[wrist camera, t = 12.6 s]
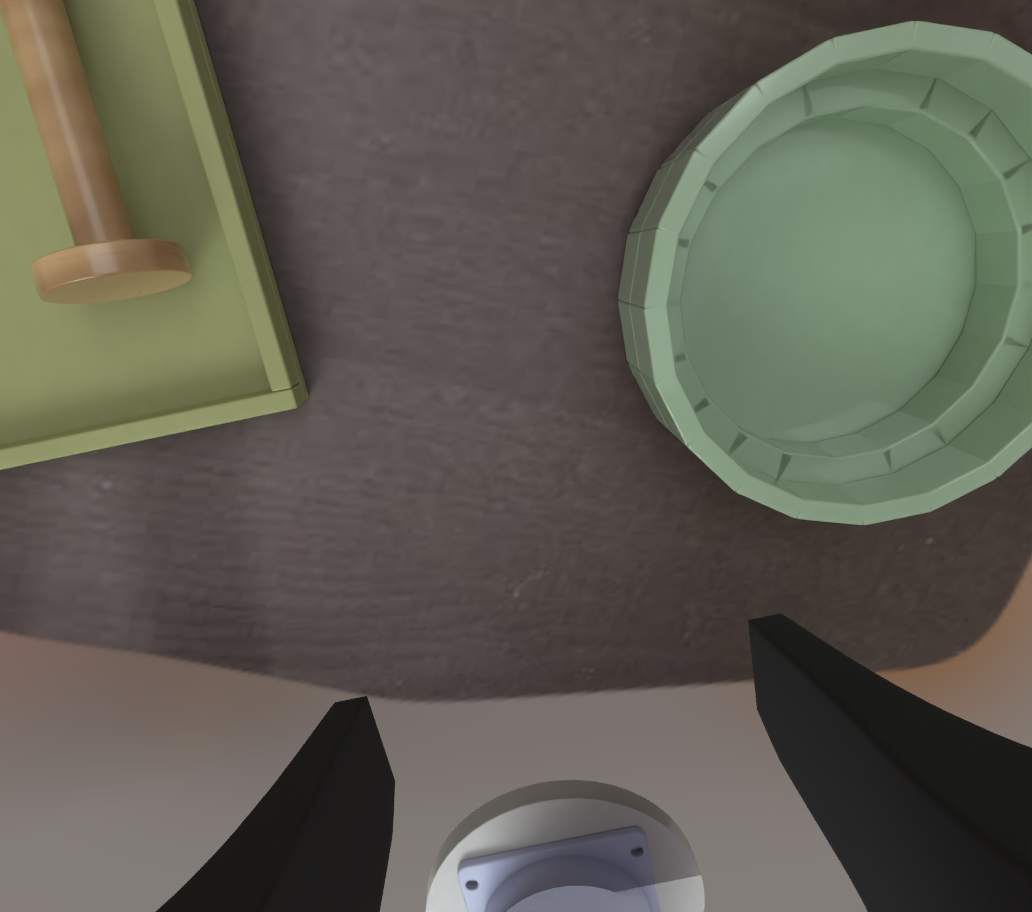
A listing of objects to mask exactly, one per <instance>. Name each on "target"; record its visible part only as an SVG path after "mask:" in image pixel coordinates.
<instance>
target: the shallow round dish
mask: <svg viewBox="0 0 1032 912" xmlns="http://www.w3.org/2000/svg"><path fill="white" fill-rule="evenodd" d="M629 232H630V233H629V234H628V235H627V242H626V249H625V255H624V262H623V268H622V275H621V282H620V288H619V295H618V299H619V302H618V305H619V312H620V318H621V324H622V331H623V337H624V344H625V350H626V356H627V361H628V363H629V367H630V369H631V371H632V373H633V375H634V377H635V379H636V381H637V383H638V385H639V386H640V388H641V390H642V392H643V394H644V396H645V398H646V400H647V402H648V404H649V406H650V408H651V410H652V412H653V414H654V415H655V416H656V418H657V419H658V420H659V421H660V422H661V423H662V424H663V425H664V426H665V427H666V428H667V429H668V430H669V431H670V432H672V433H673V434H674V435H675V436H676V437H677V438H678V439H679V440H680V441H681V442H682V443H683V444H684V445H685V446H686V447H687V448H688V449H690V450H691V451H692V452H693V453H694V454H695V455H696V456H697V457H698V458H699V459H700V460H701V461H702V462H703V463H704V464H705V465H707V466H708V467H709V468H710V469H711V470H712V471H713V472H714V473H715V474H716V475H717V476H718V477H719V478H720V479H721V480H723V481H724V482H725V483H726V484H727V485H728V486H729V487H730V488H731V489H732V490H733V491H736V492H737V493H738V494H740V495H743V496H745V497H747V498H750V499H752V500H754V501H756V502H759V503H761V504H763V505H765V506H768V507H770V508H772V509H774V510H777V511H779V512H781V513H783V514H786V515H788V516H790V517H792V518H797V519H803V520H813V521H824V522H834V523H845V524H855V525H862V524H863V525H868V524H873V523H878V522H883V521H888V520H893V519H898V518H903V517H907V516H912V515H917V514H922V513H927V512H931V511H932V510H935V509H937V508H939V507H941V506H943V505H945V504H947V503H949V502H951V501H953V500H955V499H957V498H959V497H961V496H963V495H965V494H967V493H969V492H971V491H973V490H975V489H977V488H979V487H981V486H982V485H984V484H986V483H988V482H990V481H992V480H994V479H996V476H997V477H998V476H1000V475H1001V474H1002V473H1004V472H1005V471H1006V470H1007V469H1008V468H1009V467H1010V466H1011V465H1013V464H1014V463H1015V462H1016V461H1017V460H1018V459H1019V458H1020V457H1022V456H1023V455H1024V454H1025V453H1026V452H1027V451H1028V450H1029V449H1030V448H1032V54H1030V53H1028V52H1027V51H1025V50H1023V49H1022V48H1020V47H1018V46H1017V45H1015V44H1013V43H1012V42H1010V41H1008V40H1007V39H1005V38H1003V37H1002V36H1000V35H998V34H994V33H993V32H990V31H983V30H977V29H970V28H963V27H957V26H950V25H944V24H937V23H931V22H924V21H907V22H903V23H898V24H893V25H888V26H884V27H879V28H874V29H870V30H865V31H860V32H856V33H851V34H846V35H841V36H837V37H833V38H832V39H828V40H826V41H824V42H823V43H821V44H819V45H818V46H816V47H814V48H813V49H811V50H809V51H808V52H806V53H804V54H802V55H801V56H799V57H797V58H796V59H794V60H792V61H791V62H789V63H787V64H786V65H784V66H782V67H781V68H779V69H777V70H775V71H774V72H772V73H770V74H769V75H767V76H765V77H764V78H762V79H760V80H759V81H757V82H755V83H754V84H752V85H751V86H749V87H748V88H746V89H744V90H743V91H741V92H740V93H738V94H737V95H735V96H734V97H732V98H730V99H729V100H727V101H726V102H724V103H723V104H721V105H720V106H718V107H716V108H715V109H713V110H712V111H710V113H709V114H707V115H706V116H705V117H704V118H703V119H702V120H701V121H700V122H699V123H698V125H697V126H696V127H695V128H694V129H693V130H692V131H691V132H690V133H689V135H688V136H687V137H686V138H685V139H684V140H683V141H682V142H681V143H680V145H679V146H678V147H677V148H676V149H675V150H674V151H673V152H672V153H671V154H670V156H669V157H668V158H667V159H666V160H665V161H664V162H663V163H662V164H661V167H660V169H658V170H657V172H656V174H655V177H654V179H653V181H652V183H651V185H650V187H649V189H648V191H647V193H646V196H645V198H644V200H643V202H642V204H641V206H640V208H639V210H638V212H637V214H636V217H635V219H634V221H633V223H632V225H631V227H630V229H629Z"/></svg>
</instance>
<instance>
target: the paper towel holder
mask: <svg viewBox="0 0 1032 912" xmlns="http://www.w3.org/2000/svg"><path fill="white" fill-rule="evenodd" d="M0 11H1V14H2V17H3V20H4V24H5V27H6V30H7V33H8V36H9V39H10V42H11V46H12V49H13V52H14V55H15V58H16V61H17V65H18V68H19V71H20V74H21V77H22V80H23V83H24V87H25V90H26V93H27V96H28V99H29V102H30V106H31V109H32V112H33V115H34V118H35V121H36V125H37V128H38V131H39V134H40V137H41V140H42V143H43V147H44V150H45V153H46V156H47V159H48V162H49V166H50V169H51V172H52V175H53V178H54V181H55V185H56V188H57V191H58V194H59V197H60V200H61V203H62V207H63V210H64V213H65V216H66V219H67V222H68V226H69V229H70V232H71V235H72V238H73V241H74V244H75V246H74V247H69V248H65V249H62V250H58V251H55V252H52V253H49V254H47V255H44V256H42V257H40V258H38V259H36V260H35V261H33V262H32V263H31V265H30V271H31V274H32V277H33V280H34V283H35V286H36V289H37V292H38V295H39V297H40V299H41V300H43V301H45V302H50V303H56V304H88V303H100V302H109V301H117V300H124V299H130V298H135V297H141V296H145V295H150V294H154V293H158V292H162V291H165V290H169V289H172V288H175V287H177V286H180V285H182V284H184V283H186V282H188V281H189V280H190V279H191V278H192V271H191V268H190V264H189V261H188V257H187V254H186V251H185V248H184V247H183V245H181V244H180V243H177V242H174V241H169V240H162V239H135V236H134V233H133V229H132V226H131V223H130V219H129V216H128V213H127V210H126V206H125V203H124V200H123V196H122V193H121V190H120V186H119V183H118V180H117V177H116V173H115V170H114V167H113V163H112V160H111V157H110V154H109V150H108V147H107V144H106V140H105V137H104V134H103V131H102V127H101V124H100V121H99V117H98V114H97V111H96V107H95V104H94V101H93V98H92V94H91V91H90V88H89V84H88V81H87V78H86V75H85V71H84V68H83V65H82V61H81V58H80V55H79V51H78V48H77V45H76V42H75V38H74V35H73V32H72V28H71V25H70V22H69V19H68V15H67V12H66V9H65V5H64V2H63V0H0Z"/></svg>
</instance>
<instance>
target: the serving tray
mask: <svg viewBox="0 0 1032 912" xmlns="http://www.w3.org/2000/svg"><path fill="white" fill-rule="evenodd" d="M63 2H64V5H65V9H66V12H67V15H68V19H69V22H70V25H71V28H72V32H73V35H74V38H75V42H76V45H77V48H78V51H79V55H80V58H81V61H82V65H83V68H84V71H85V75H86V78H87V81H88V84H89V88H90V91H91V94H92V98H93V101H94V104H95V107H96V111H97V114H98V117H99V121H100V124H101V127H102V131H103V134H104V137H105V140H106V144H107V147H108V150H109V154H110V157H111V160H112V163H113V167H114V170H115V173H116V177H117V180H118V183H119V186H120V190H121V193H122V196H123V200H124V203H125V206H126V210H127V213H128V216H129V219H130V223H131V226H132V229H133V233H134V236H135V239H162V240H169V241H174V242H177V243H180V244H181V245H183V247H184V248H185V251H186V254H187V257H188V261H189V264H190V268H191V271H192V278H191V279H190V280H189V281H188V282H186V283H184V284H182V285H180V286H177V287H175V288H172V289H169V290H165V291H162V292H158V293H154V294H150V295H145V296H141V297H135V298H130V299H124V300H117V301H109V302H100V303H88V304H56V303H50V302H45V301H43V300H41V299H40V297H39V295H38V292H37V289H36V286H35V283H34V280H33V277H32V274H31V271H30V265H31V263H32V262H33V261H35V260H36V259H38V258H40V257H42V256H44V255H47V254H49V253H52V252H55V251H58V250H62V249H65V248H69V247H74V246H75V244H74V241H73V238H72V235H71V232H70V229H69V226H68V222H67V219H66V216H65V213H64V210H63V207H62V203H61V200H60V197H59V194H58V191H57V188H56V185H55V181H54V178H53V175H52V172H51V169H50V166H49V162H48V159H47V156H46V153H45V150H44V147H43V143H42V140H41V137H40V134H39V131H38V128H37V125H36V121H35V118H34V115H33V112H32V109H31V106H30V102H29V99H28V96H27V93H26V90H25V87H24V83H23V80H22V77H21V74H20V71H19V68H18V65H17V61H16V58H15V55H14V52H13V49H12V46H11V42H10V39H9V36H8V33H7V30H6V27H5V24H4V20H3V17H2V14H1V11H0V470H2V469H7V468H12V467H17V466H21V465H26V464H31V463H36V462H41V461H45V460H50V459H55V458H60V457H65V456H69V455H74V454H79V453H84V452H89V451H93V450H98V449H103V448H108V447H113V446H118V445H122V444H127V443H132V442H137V441H142V440H146V439H151V438H156V437H161V436H166V435H170V434H175V433H180V432H185V431H190V430H195V429H199V428H204V427H209V426H214V425H219V424H223V423H228V422H233V421H238V420H243V419H247V418H252V417H257V416H262V415H267V414H272V413H276V412H281V411H286V410H291V409H296V408H297V407H298V406H300V405H301V404H302V403H303V402H305V401H306V400H307V399H309V395H308V391H307V388H306V384H305V381H304V377H303V374H302V370H301V367H300V364H299V360H298V357H297V353H296V350H295V346H294V343H293V339H292V336H291V333H290V329H289V326H288V322H287V319H286V315H285V312H284V309H283V305H282V302H281V298H280V295H279V291H278V288H277V284H276V281H275V278H274V274H273V271H272V267H271V264H270V260H269V257H268V253H267V250H266V247H265V243H264V240H263V236H262V233H261V229H260V226H259V222H258V219H257V216H256V212H255V209H254V205H253V202H252V198H251V195H250V191H249V188H248V185H247V181H246V178H245V174H244V171H243V167H242V164H241V160H240V157H239V154H238V150H237V147H236V143H235V140H234V136H233V133H232V129H231V126H230V123H229V119H228V116H227V112H226V109H225V105H224V102H223V99H222V95H221V92H220V88H219V85H218V81H217V78H216V74H215V71H214V68H213V64H212V61H211V57H210V54H209V50H208V47H207V43H206V40H205V37H204V33H203V30H202V26H201V23H200V19H199V16H198V12H197V9H196V6H195V2H194V0H63Z"/></svg>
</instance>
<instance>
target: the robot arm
mask: <svg viewBox="0 0 1032 912" xmlns="http://www.w3.org/2000/svg"><path fill="white" fill-rule="evenodd" d="M748 623H749V633H750V643H751V653H752V663H753V673H754V683H755V691H756V703H757V710H758V712H759V715H760V717H761V719H762V722H763V724H764V726H765V729H766V731H767V733H768V735H769V738H770V740H771V742H772V744H773V747H774V749H775V751H776V753H777V755H778V757H779V759H780V761H781V763H782V765H783V767H784V768H785V770H786V772H787V774H788V775H789V777H790V779H791V780H792V782H793V783H794V785H795V787H796V789H797V790H798V792H799V794H800V795H801V797H802V799H803V801H804V802H805V804H806V806H807V807H808V809H809V810H810V812H811V814H812V815H813V817H814V819H815V820H816V822H817V824H818V825H819V827H820V829H821V830H822V832H823V834H824V835H825V837H826V839H827V840H828V842H829V844H830V845H831V847H832V849H833V850H834V852H835V854H836V855H837V857H838V859H839V860H840V862H841V864H842V865H843V867H844V869H845V870H846V872H847V874H848V875H849V877H850V879H851V881H852V883H853V884H854V886H855V888H856V890H857V892H858V894H859V896H860V897H861V899H862V901H863V903H864V905H865V906H866V909H867V911H868V912H1032V748H1030V747H1028V746H1025V745H1022V744H1020V743H1017V742H1015V741H1012V740H1010V739H1007V738H1005V737H1002V736H1000V735H997V734H995V733H993V732H990V731H988V730H986V729H984V728H982V727H979V726H977V725H975V724H973V723H970V722H968V721H966V720H964V719H962V718H959V717H957V716H955V715H953V714H951V713H948V712H946V711H944V710H942V709H940V708H938V707H936V706H934V705H932V704H930V703H928V702H926V701H924V700H923V699H921V698H919V697H917V696H915V695H913V694H911V693H910V692H907V691H906V690H904V689H902V688H900V687H898V686H896V685H895V684H893V683H891V682H889V681H888V680H886V679H884V678H882V677H881V676H879V675H877V674H875V673H874V672H872V671H870V670H869V669H867V668H865V667H864V666H862V665H860V664H859V663H857V662H855V661H854V660H852V659H851V658H849V657H847V656H846V655H844V654H843V653H841V652H839V651H838V650H836V649H835V648H833V647H832V646H830V645H829V644H827V643H825V642H824V641H822V640H821V639H819V638H818V637H816V636H815V635H813V634H812V633H810V632H809V631H807V630H806V629H804V628H803V627H801V626H800V625H798V624H796V623H795V622H793V621H792V620H790V619H789V618H787V617H786V616H784V615H782V614H777V615H771V616H766V617H761V618H756V619H751V620H748ZM394 790H395V780H394V776H393V773H392V771H391V768H390V764H389V762H388V759H387V755H386V752H385V749H384V747H383V744H382V741H381V738H380V734H379V731H378V728H377V725H376V722H375V719H374V716H373V713H372V710H371V707H370V705H369V701H368V698H367V696H365V697H360V698H355V699H350V700H345V701H340V702H335V703H334V704H333V706H332V707H331V708H330V710H329V711H328V712H327V714H326V715H325V716H324V718H323V719H322V720H321V722H320V723H319V725H318V726H317V727H316V729H315V730H314V731H313V733H312V734H311V736H310V737H309V738H308V740H307V741H306V742H305V744H304V745H303V746H302V748H301V749H300V751H299V752H298V753H297V754H296V756H295V757H294V758H293V760H292V761H291V762H290V764H289V765H288V766H287V768H286V769H285V770H284V772H283V773H282V774H281V776H280V777H279V778H278V780H277V781H276V782H275V784H274V785H273V786H272V787H271V789H270V790H269V791H268V792H267V794H266V795H265V796H264V797H263V798H262V799H261V801H260V802H259V803H258V804H257V805H256V807H255V808H254V809H253V810H252V811H251V813H250V814H249V815H248V816H247V817H246V819H245V820H244V821H243V822H242V823H241V825H240V826H239V827H238V829H237V830H236V831H235V832H234V833H233V834H232V835H231V836H230V838H229V839H228V840H227V841H226V842H225V843H224V844H223V845H222V847H221V848H220V849H219V850H218V851H217V852H216V853H215V854H214V855H213V856H212V857H211V858H210V859H209V860H208V862H207V863H205V865H204V866H203V867H202V868H201V869H200V870H199V871H198V872H197V873H196V874H195V875H194V876H193V877H192V878H191V879H190V880H189V881H188V882H187V883H186V884H185V885H184V886H183V887H182V888H181V889H180V890H179V891H178V892H177V893H176V894H175V895H174V896H173V897H172V898H170V899H169V900H168V901H167V902H166V903H165V904H164V905H163V906H162V907H161V908H159V909H158V910H157V911H156V912H380V906H381V901H382V895H383V889H384V883H385V877H386V871H387V865H388V859H389V853H390V846H391V841H392V833H393V816H394V792H395V791H394ZM635 847H640V848H638V849H633V848H635ZM458 880H459V883H460V887H461V890H462V894H463V897H464V901H465V904H466V908H467V911H468V912H660V907H659V902H658V896H657V891H656V885H655V880H654V875H653V869H652V864H651V858H650V853H649V848H648V842H647V838H646V834H645V832H644V830H643V829H642V828H640V827H637V826H632V827H627V828H622V829H617V830H612V831H607V832H602V833H596V834H591V835H586V836H581V837H576V838H571V839H566V840H561V841H556V842H551V843H546V844H541V845H536V846H531V847H526V848H521V849H516V850H511V851H506V852H501V853H496V854H491V855H486V856H481V857H475V858H470V859H466V860H463V861H462V862H461V863H460V864H459V866H458ZM469 880H475V881H474V882H470V881H469Z"/></svg>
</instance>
